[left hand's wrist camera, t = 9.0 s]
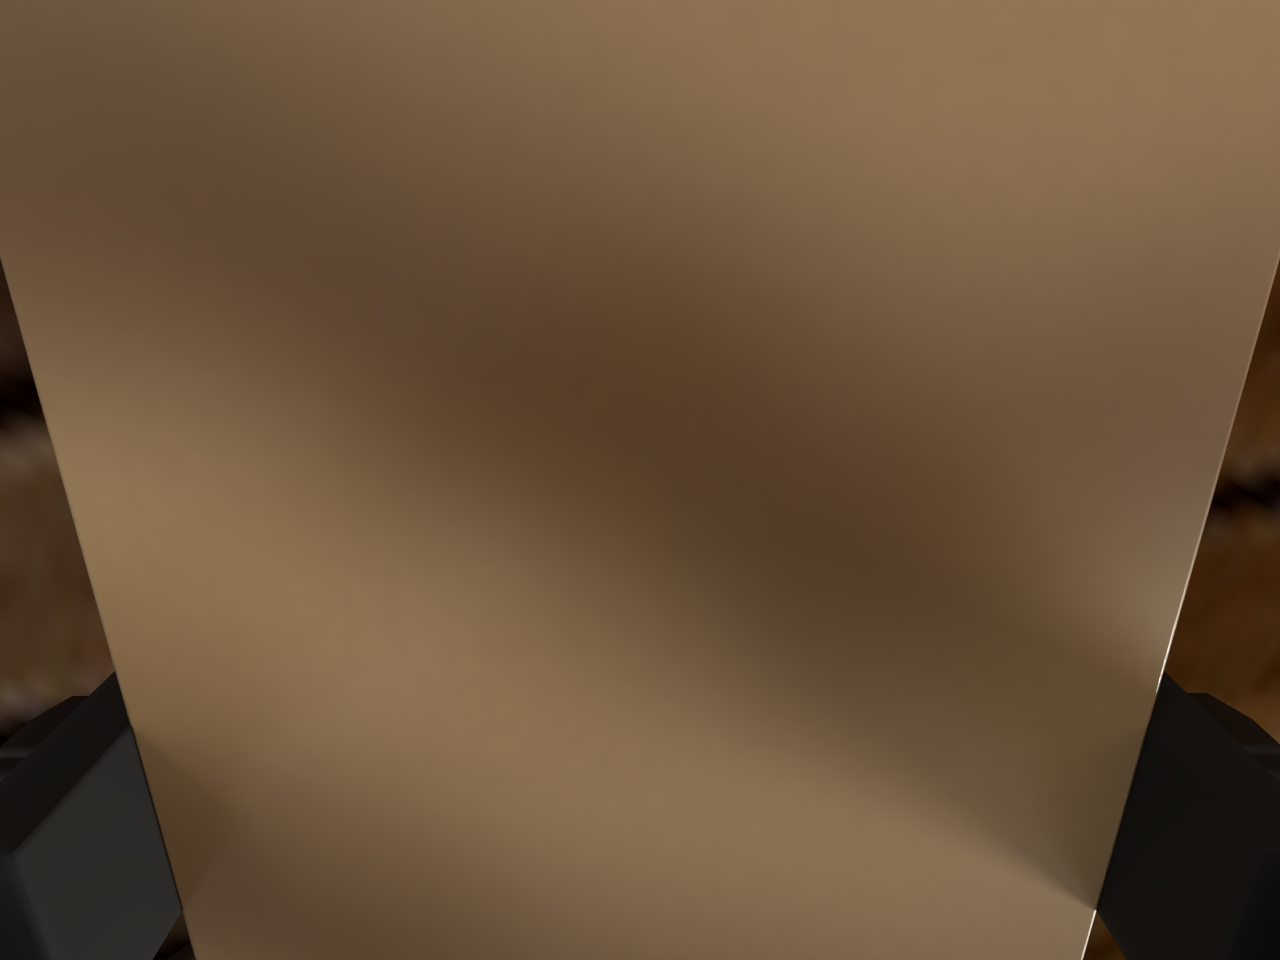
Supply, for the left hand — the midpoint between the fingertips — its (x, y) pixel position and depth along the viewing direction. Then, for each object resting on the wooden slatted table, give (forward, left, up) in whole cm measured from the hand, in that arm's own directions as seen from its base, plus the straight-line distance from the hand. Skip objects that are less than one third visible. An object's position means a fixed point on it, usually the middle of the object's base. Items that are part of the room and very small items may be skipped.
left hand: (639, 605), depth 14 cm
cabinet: (+2, +5, -6) cm, 8 cm away
